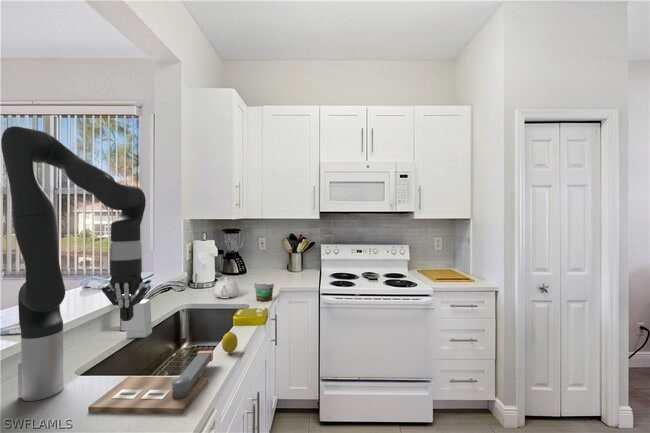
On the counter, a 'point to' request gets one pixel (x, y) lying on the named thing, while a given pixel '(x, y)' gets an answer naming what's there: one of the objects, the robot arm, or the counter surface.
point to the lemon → (229, 342)
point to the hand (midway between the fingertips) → (126, 320)
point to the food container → (263, 292)
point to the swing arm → (191, 374)
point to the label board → (146, 397)
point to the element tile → (250, 317)
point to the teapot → (226, 288)
